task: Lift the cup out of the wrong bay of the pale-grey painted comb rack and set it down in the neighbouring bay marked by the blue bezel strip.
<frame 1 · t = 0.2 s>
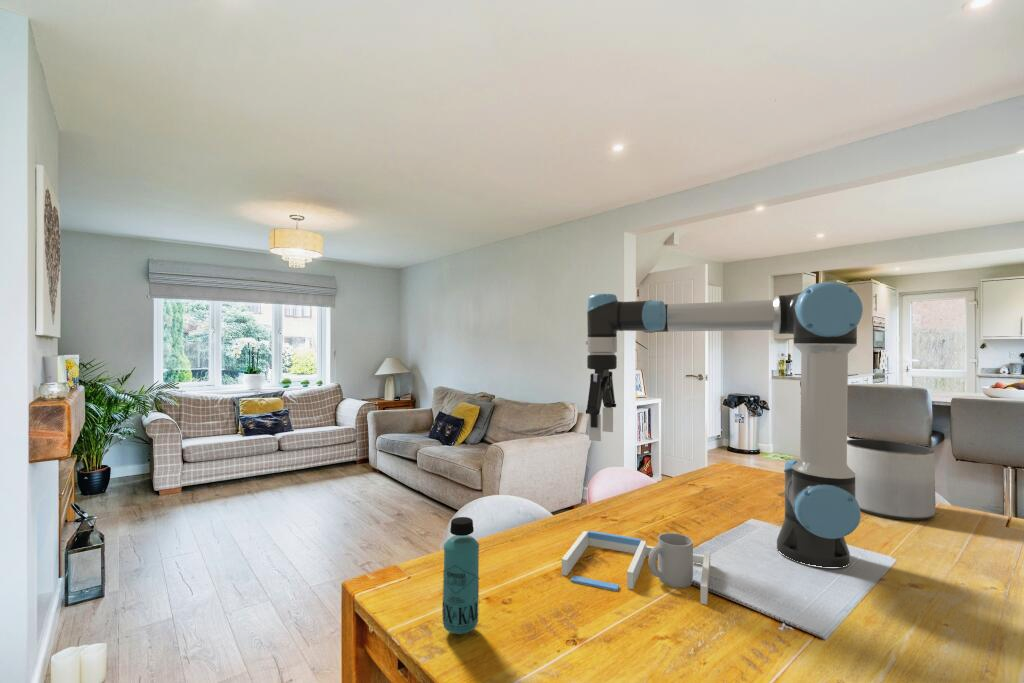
hand: (601, 435, 126), 28 cm above the table, fingers open, 13 cm apart
cup: (669, 582, 105), on the table
planter: (887, 510, 152), on the table
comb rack: (637, 570, 110), on the table
beverage bottle: (460, 633, 86), on the table
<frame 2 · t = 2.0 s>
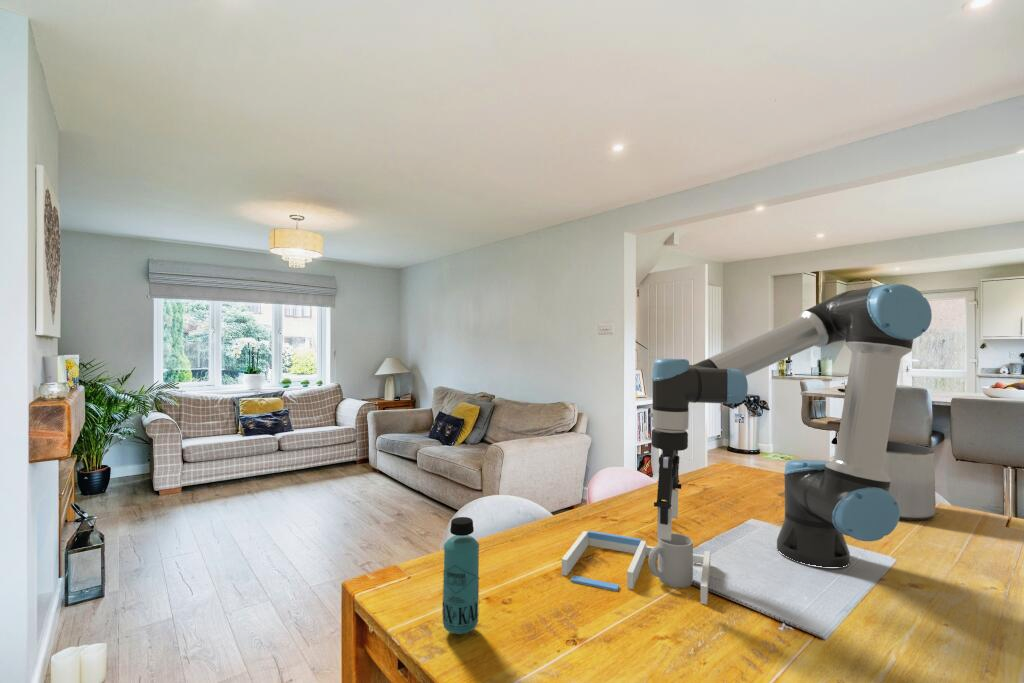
hand: (667, 527, 105), 12 cm above the table, fingers open, 13 cm apart
nothing on the table moved.
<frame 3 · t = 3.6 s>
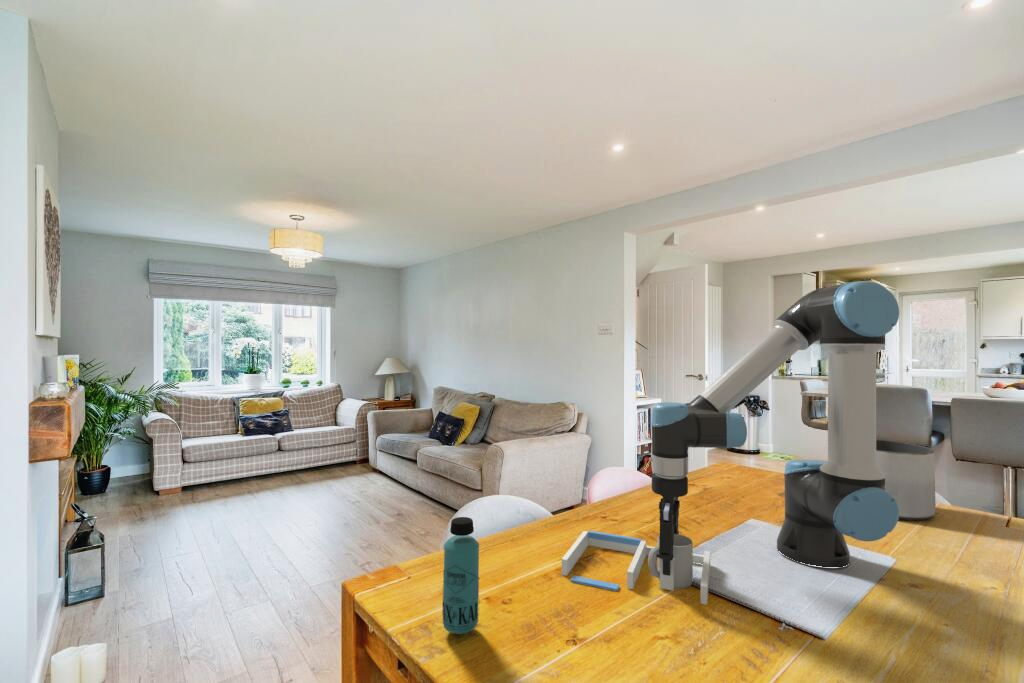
hand: (669, 579, 105), 0 cm above the table, fingers open, 8 cm apart
cup: (669, 582, 105), on the table, touching gripper
everything else where it was.
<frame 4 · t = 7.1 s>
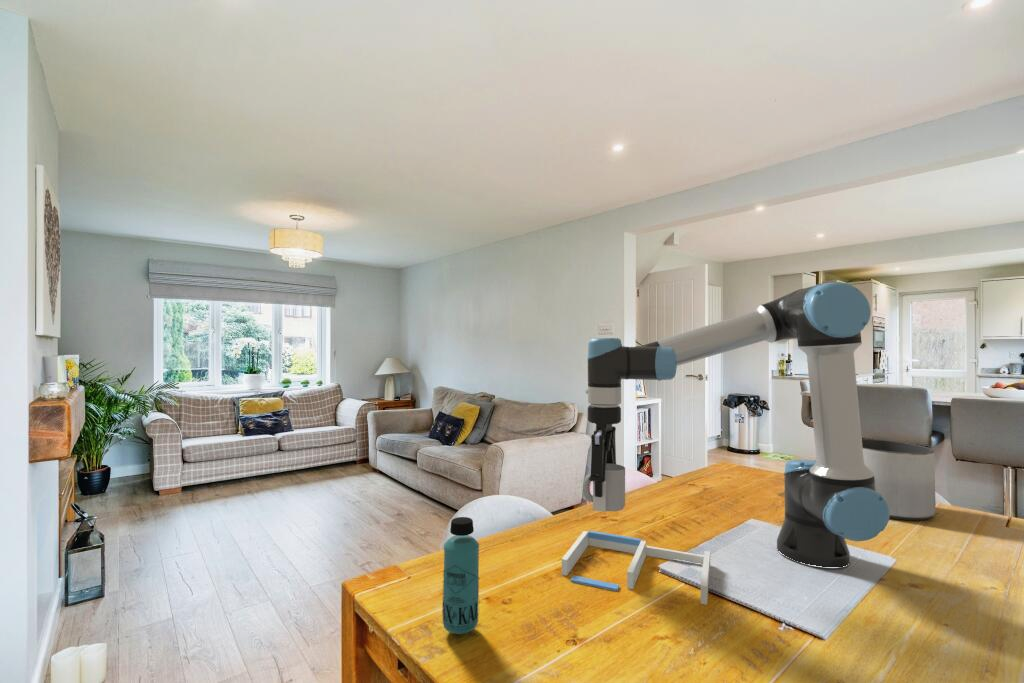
hand: (603, 504, 111), 15 cm above the table, fingers closed on cup, 8 cm apart
cup: (603, 507, 110), point 14 cm above the table, touching gripper
everything else where it was.
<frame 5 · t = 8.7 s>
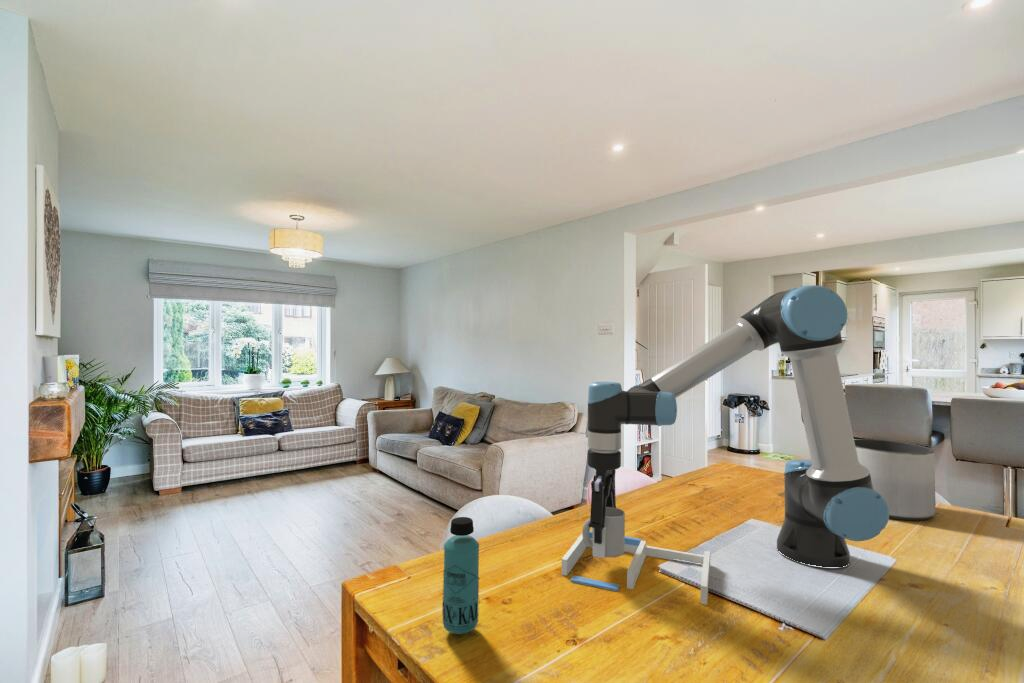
hand: (603, 549, 111), 4 cm above the table, fingers closed on cup, 8 cm apart
cup: (602, 552, 110), point 4 cm above the table, touching gripper
everything else where it was.
when the fingers open (2 cm above the table, at t = 10.1 s): cup drops 1 cm, on the table.
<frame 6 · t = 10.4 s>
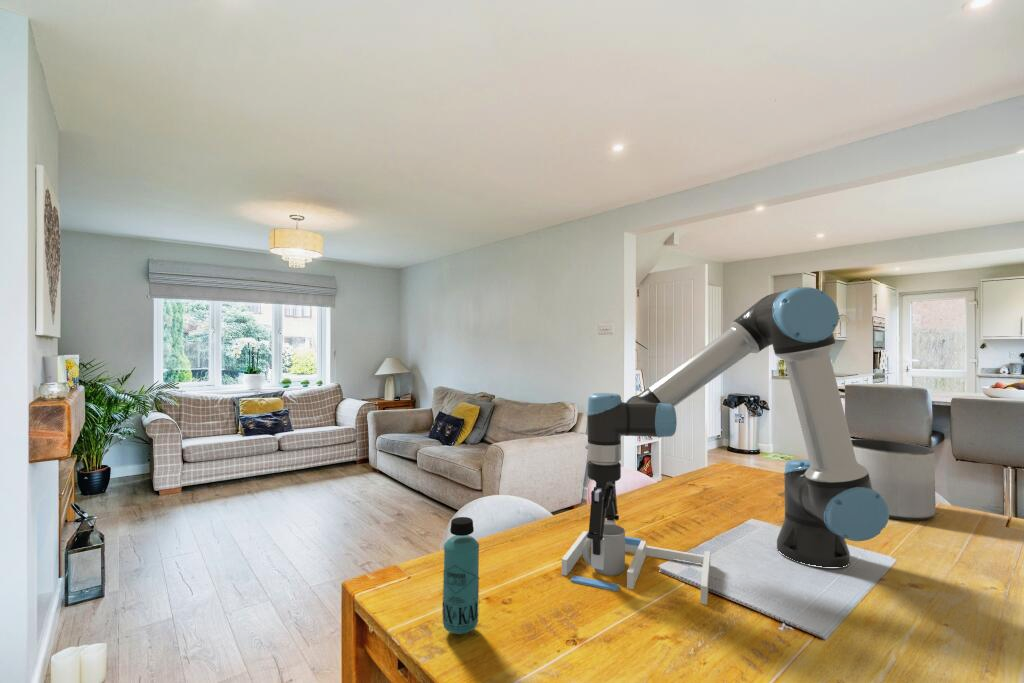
hand: (603, 557, 111), 2 cm above the table, fingers open, 11 cm apart
cup: (603, 570, 110), on the table
everything else where it was.
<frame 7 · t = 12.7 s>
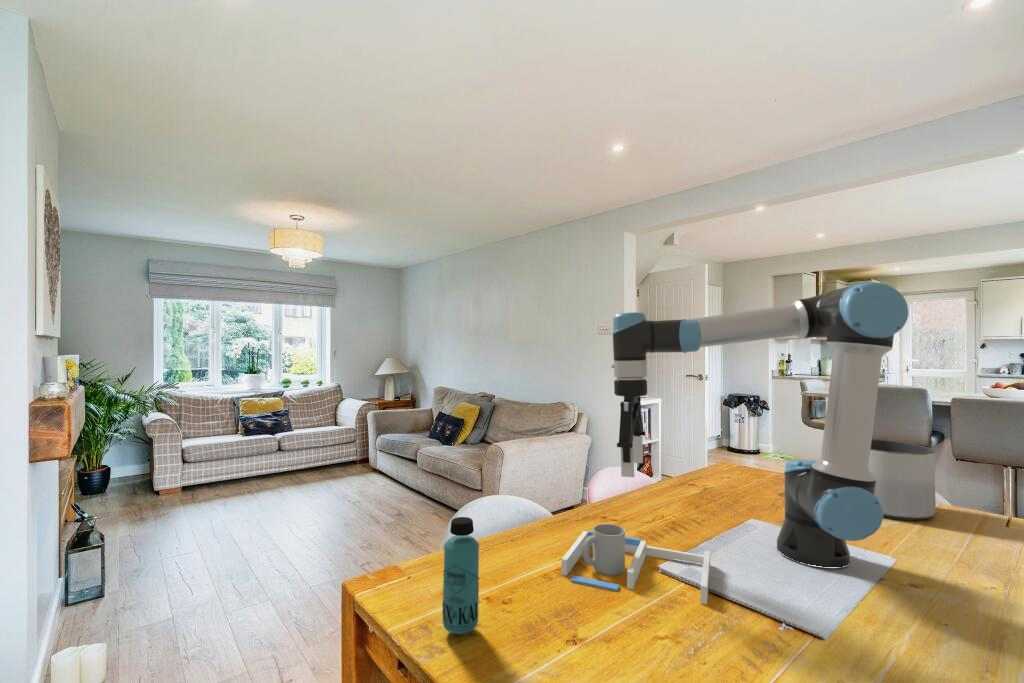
hand: (632, 469, 114), 22 cm above the table, fingers open, 13 cm apart
nothing on the table moved.
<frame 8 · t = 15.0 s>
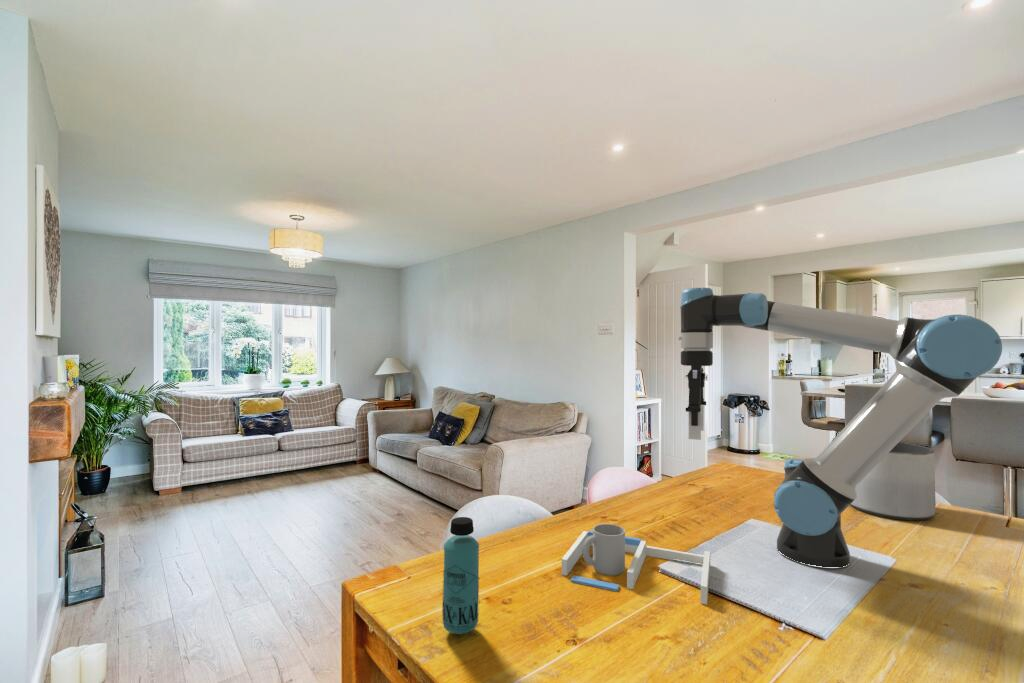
hand: (696, 434, 122), 29 cm above the table, fingers open, 13 cm apart
nothing on the table moved.
at the end: cup inside the target area (0.6 cm from its centre), on the table; cup tilted 0°; the gripper is holding nothing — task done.
